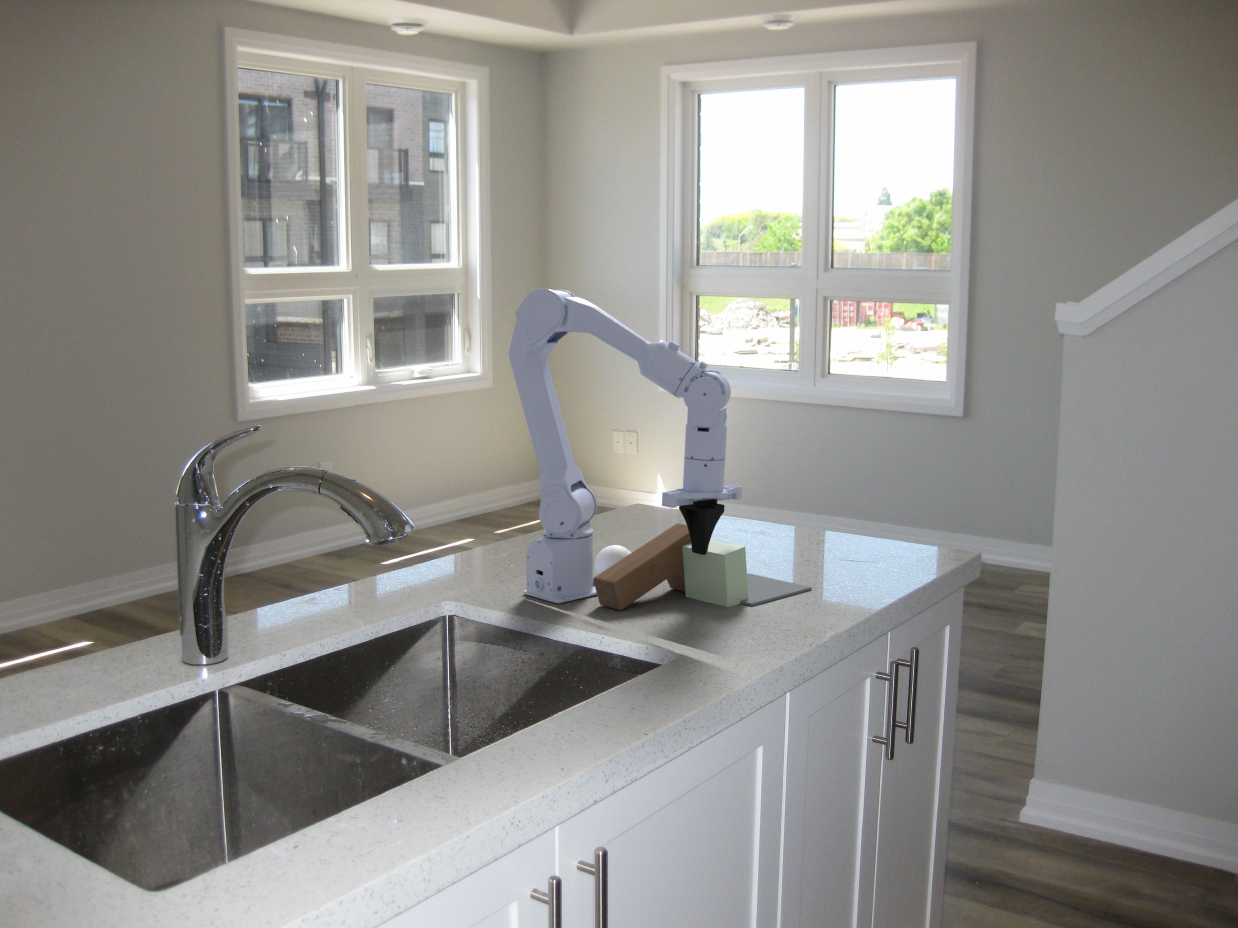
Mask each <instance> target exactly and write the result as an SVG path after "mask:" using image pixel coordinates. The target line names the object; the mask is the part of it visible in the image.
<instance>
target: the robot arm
mask: <svg viewBox="0 0 1238 928" xmlns="http://www.w3.org/2000/svg"><path fill="white" fill-rule="evenodd" d="M514 325H515V326H514V329H513V332H512V333H513V334H512V337H511V341H510V345H509V348H508V357H509V362H510V365H511V369H512V374H513V377H514V380H515V384H516V388H517V392H518V396H519V398H520V403H521V405H522V410H523V413H524V418H525V421H526V424H527V429H528V431H529V436H530V440H531V442H532V446H533V450H534V454H535V456H536V457H535V458H536V460H537V465H538V468H539V469H538V470H539V471H540V476H539V477H540V478H539V482H538V494H539V499H540V503H539V504H540V505H539V510H538V517H539V521H540V523H541V524H540V525H541V526H542V527H543V534H542V535H541V536H540V537H539V538H537V539H534V540H532V541H531V542H530V543H529V545H528V547H527V550H526V589H524V590H522V593H523V594H524V595H527V596H530V597H534V598H537V599H540V600H544V601H548V602H551V603H555V604H562V603H566V602H571V601H576V600H579V599H583V598H589V597H593V596H597V592H596V588H595V585H594V581H593V578H594V529H593V527H592V525H591V523H590V522H591V520H592V519H593V518H594V516H595V515H596V513H597V508H598V503H597V498H596V495H595V493H594V492H593V490H592V489H591V488H590V487H589V486H588V484H587V483H586V481H585V477H584V474H583V472H582V470H581V469H580V468H579V467H578V466H577V463H576V461H575V459H574V455H573V451H572V447H571V443H570V440H569V435H568V433H567V428H566V425H565V421H564V418H563V414H562V410H561V407H560V403H559V399H558V395H557V392H556V389H555V384H554V381H553V378H552V374H551V370H550V369H551V368H550V365H549V362H548V358H549V357H550V355H551V353H552V352H553V351H554V349H555V347H557V344H558V343H559V341H560V340H562V338H564V337H565V336H567V335H568V334H569V333H578V334H579V333H582V334H590V335H592V336H593V337H595V338H597V339H598V340H601V341H602V342H604V343H605V344H607V345H609V346H611V347H612V348H613V349H616V350H617V351H619V352H621V353H622V354H624V355H626V356H628V358H631V359H632V360H635V361H636V362H637V365H638V367H639V371H640V372H639V373H640V375H641V376H643V377H644V378H646V379H647V380H649V381H651V382H652V383H654V384H655V385H656V386H659V387H660V388H661V389H663V390H664V391H666V392H668V393H669V394H670V395H673V396H674V397H675V398H677V399H680V398H682V399H683V402H684V404H685V406H686V408H687V420H686V421H687V422H686V425H685V433H684V434H685V440H684V442H685V443H684V454H683V455H684V457H683V474H682V475H683V479H682V487H679V488H675V489H671V490H668V491H662V495H661V506H662V507H667V508H671V509H673V508H675V509H676V508H677V507H678V509H679V512H680V513H681V515H682V516H683V519H684V521H685V525H687V527H688V530H689V534H690V539H691V546H692V552H693V553H697V554H701V555H705V554H706V552H707V551H708V546H709V542H710V539H711V540H712V537H713V533H714V531H715V528H716V526H717V524H718V522H719V520H720V518H721V517H722V515H723V514H724V512H725V504H723V503H718V502H719V501H720V502H722V501H727V500H742V492H743V491H742V490H743V487H742V485H737V484H725V469H726V450H727V430H728V427H727V423H726V422H727V419H728V417H727V416H728V413H727V408H725V407H726V406H727V404H728V402H730V399H731V398H730V397H731V390H732V389H731V385H730V383H729V381H728V379H726V377H725V376H724V375H722V373H721V372H720V371H718V370H714V369H712V370H711V369H708V370H706V369H707V367H708V366H709V364H708V363H707V362H704V361H700V362H698V361H697V360H696V359H693V358H692V357H690V356H689V355H687V354H686V353H684V352H682V351H681V350H679V348H680V344H679V343H677V342H675V341H673V340H672V341H669V343H668V342H667V341H665V340H664V339H661V340H656V341H654V342H650V341H648V340H647V339H646V338H644V337H642V336H641V335H640V334H638V333H637V332H635V331H634V330H633V329H631V328H630V327H628V326H627V325H625V324H624V323H622V322H621V321H620V320H619V319H617V318H615V317H613V316H612V315H610V314H609V313H608V312H606V311H605V310H603V309H602V308H600V307H599V306H597V305H596V304H594V303H593V302H590V301H589V300H588V299H587V300H586V299H584V298H581V297H578V296H576V295H575V294H574V293H572V292H570V291H569V290H566V289H549V288H538V289H534V290H533V291H531V292H529V293H528V294H527V295H526V296H525V298H524V299H523V300H522V302H521V303H520V305H519V306H518V307H517V309H516V310H515V324H514Z"/></svg>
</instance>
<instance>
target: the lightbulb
mask: <svg viewBox="0 0 1238 928" xmlns="http://www.w3.org/2000/svg"><path fill="white" fill-rule="evenodd" d="M631 553H632V552H631V551H630V550H629V549H628V548H627V547H625V546H622V545H619V544H612V545H609V546H605V547H604V548H603V549H601V550H600V551H599V552H598V554H597V556H596V557H595V562H594V563H595V564H594V570H595V572H596V576H597V575H598V574H600V573H601V572H603V571H605V570H606V569H608V568H609V567H611V566H612V565H614V564H615V563H617V562H618V561H620V560H621V559H623V558H625V557H626V556H628V555H629V554H631Z"/></svg>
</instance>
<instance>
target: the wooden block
mask: <svg viewBox="0 0 1238 928" xmlns="http://www.w3.org/2000/svg"><path fill="white" fill-rule="evenodd" d="M688 543H691V539H690V534H689V530H688V527H687V524H683V523H675V524H674V525H672V526H670V527H669V528H667V529H666V530H664V531H663V532H661V533H660V534H658V535H657V536H655V537H654V538H652V539H651V540H649V541H648V542H646V543H644V544H643V545H641V546H640V547H639V548H637V549H635V550H634V551H632V552H631V554H629V555H628V556H626V557H625V558H623V559H621V560H620V561H618V562H617V563H615V564H614V565H612V566H611V567H609V568H608V569H606V570H605V571H603V572H601V573H600V574H598V575H597V574H596V575H595V576H593V585H594V587H595V588H596V592H597V595H596V596H597V599H598V602H599V604H600V606H603V607H607V608H610V609H614V610H617V611H623V610H624V609H626V608H627V607H629V606H630V605H632V604H633V603H635V601H637V600H639V599H641V598H642V597H643V596H644V595H646V594H647V593H649V592H650V591H651V590H653V589H655V588H656V587H657V586H659V585H660V584H662V583H663V582H665V581H667V583H668V587H669V588H670V589H672V590H676V591H680V592H683V593H686V592H685V579H684V565H683V552H682V546H683V545H686V544H688Z"/></svg>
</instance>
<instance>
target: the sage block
mask: <svg viewBox="0 0 1238 928" xmlns="http://www.w3.org/2000/svg"><path fill="white" fill-rule="evenodd" d="M682 552H683V565H684V579H685V592H684V593H685V597H686V598H688V599H689V598H690V599H693V600H697V601H702V602H705V603H709V604H713V605H718V606H721V607H725V608H731V607H735V606H739V605H740V604H741V601H742V600H746V599H748V583H747V574H748V568H747V552H746V546H745V545H741V544H734V543H729V542H726V541H720V540H715V539H712V538H711V539H710V542H709V546H708V551H707V552H706V554H705V555H701V554H697V553H693V552H692V546H691V543H688V544H686V545H683V546H682ZM741 605H742V604H741Z"/></svg>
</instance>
